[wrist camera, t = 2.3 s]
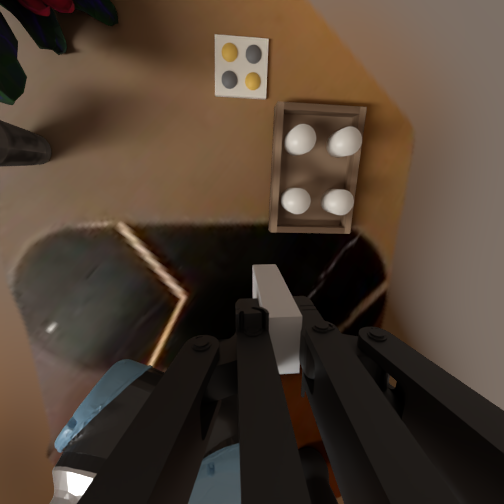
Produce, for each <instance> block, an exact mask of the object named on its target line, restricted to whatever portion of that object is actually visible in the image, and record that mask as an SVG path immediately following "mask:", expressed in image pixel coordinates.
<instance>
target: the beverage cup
mask: <svg viewBox="0 0 504 504" xmlns="http://www.w3.org/2000/svg"><path fill="white" fill-rule="evenodd" d="M50 157H51V148H50V145H49V143H48V142H47V141H46V140H45V139H44V138H43V137H41V136H39V135H37V134H35V133H32V132H30V131H28V130H25V129H22V128H19V127H17V126H14V125H11V124H9V123H6V122H3V121H1V120H0V166H26V165H37V164H39V165H40V164H44V163H46V162H48V160H49V159H50Z"/></svg>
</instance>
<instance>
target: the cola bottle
mask: <svg viewBox="0 0 504 504" xmlns="http://www.w3.org/2000/svg"><path fill="white" fill-rule="evenodd" d="M298 452H299V456H300V460H301V464H302V468H303V472H304V476H305V480H306V484H307V488H308V492H309V496H310V500H311V504H338V502H337V500H336V498H335V496H334V493H333V491H332V489H331V487H330V485H329V474H328V468H327V465H326V462H325V460H324V459H323V457H322V455H321V454H320V453H319V452H318V451H317V450H315V449H312V448H303V449H301V450H299V451H298Z"/></svg>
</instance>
